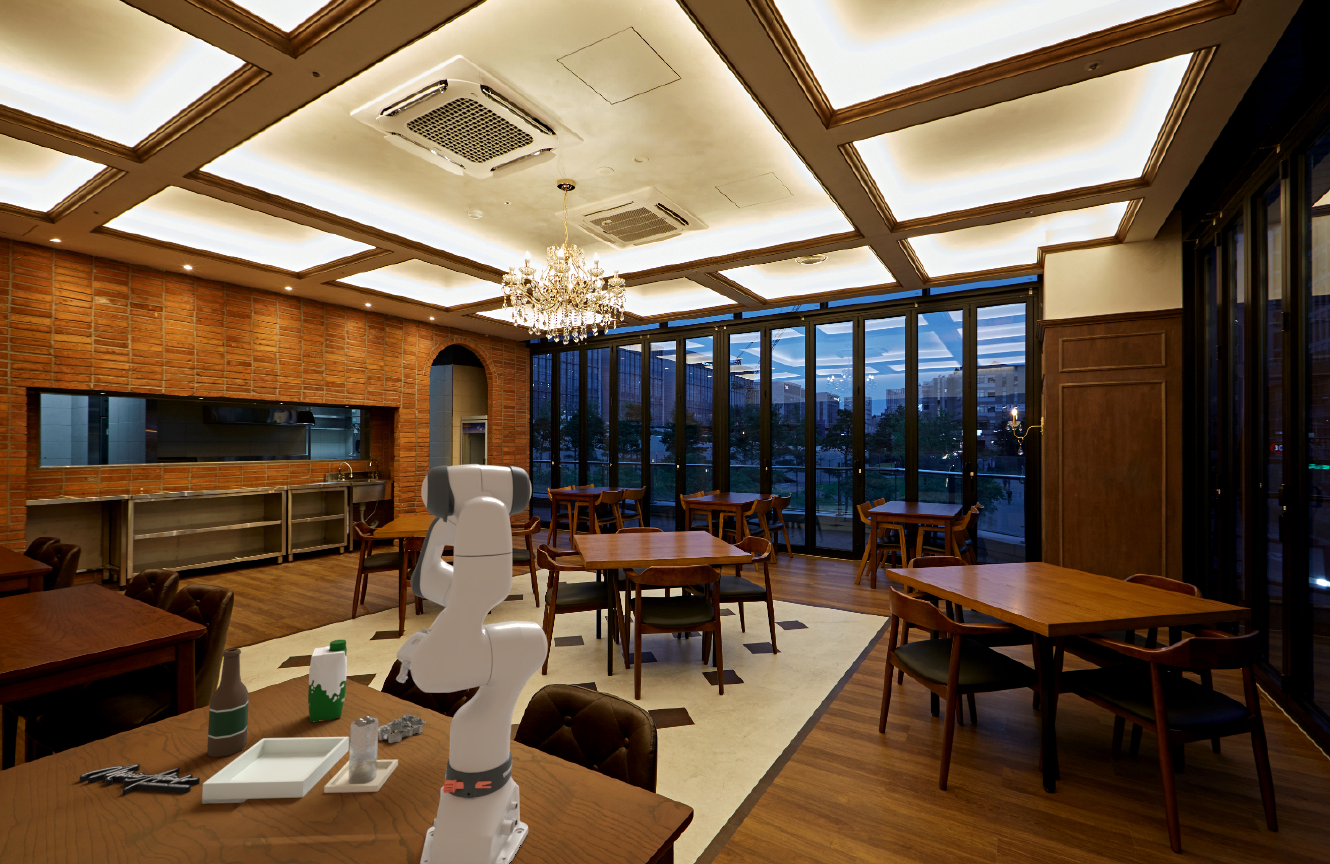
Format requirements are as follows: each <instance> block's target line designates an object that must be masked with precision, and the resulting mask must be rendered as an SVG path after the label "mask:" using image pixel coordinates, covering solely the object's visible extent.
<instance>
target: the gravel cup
mask: <svg viewBox="0 0 1330 864" xmlns="http://www.w3.org/2000/svg"><path fill="white" fill-rule="evenodd" d="M349 728H350V729H349V730H350V731H349V759H348V761H349V783H350V784H365V783H368V782H370V781H372V780H374V779H375V778H376V775H377V760H378V748H379V747H378V744H379V743H378V742H379V733H378V728H379V718H377V717H376V716H375V717H374V716H370V715H365V716H363V717H358V718H357V719H355V720H353V721H352V722H351V723H350V727H349Z"/></svg>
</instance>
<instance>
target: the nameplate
mask: <svg viewBox="0 0 1330 864" xmlns="http://www.w3.org/2000/svg"><path fill="white" fill-rule="evenodd" d="M140 768H141V764H140V763H136V764H130V765H126V766H124V765H117V766H109V767H104V768H100V769H96V770H93V771H88V772H86V773H85V772H84V773H82V774H80V775H79V783H85V782H87V784H88V785H90V784H95V783H97V782H101V781H103V782H104V785H105V786H107V787H108V786H113V783H121V784H122V787H124V788H123V789H122V793H121V794H122V796H123V797H124V796H127V795H128V794H131V793H133V792H136V791H142V792H143V791H144V792H157V793H171V794H188V793H190V792H191V791H192V790H191V789H192V786H196V785H200V783H201V781H200V779H201V777H193V776H194V775H193V773H191V774H187V775H185V776H182V777H181V776H179V774H181V773H180V771H181V768H180V767H175V768H172V769H169V770H166V771H161V772H157V773H155V774H154V773H153V774H147V773H145V772H144V771H143V772H139V771H140ZM138 772H139V773H138Z"/></svg>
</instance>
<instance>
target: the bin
mask: <svg viewBox="0 0 1330 864" xmlns="http://www.w3.org/2000/svg"><path fill="white" fill-rule="evenodd" d="M349 750H350V736H323V737H322V736H321V737H320V736H318V737H316V736H315V737H311V736H310V737H267V738H266V737H265V738H261V739H260V740H259V741H258V742H256V743H255V744H253V745H252V746H251V747H249V749H247V750H245V752H243V753H241V754H240V755H239V756H237V757H236V758H235V759H234V760H232V761H231V762H229V763H228V764H227V765H225V766H224V767H223V768H222V769H220V770H219V771H217V772H216V773H215V774H214V775H212V776H211V777H210V778H208V779H207V780H205V782H203V783H202V792H201V793H202V797H201V805H202V804H203V805H204V804H208V805H209V804H235V803H236V804H239V803H240V804H243V803H245V802H246V801H247V800H248V799H249V800H251V799H253V800H254V799H285V798H286V799H287V798H288V799H290V798H295V799H296V798H304V797H305V796H306V795H307V794H308V793H309V792H310V791H311V790H312V789H313V788H314V786H315V785H317V783H318V782H319V781H320V780H321V779H322V778H323V777H324V776H325V775H327V773H328V772H330V770H331V769H332V768H333V767H334V766H335V765H336V764H337V763H338V762H339V761H340V760H341V759H342V757H344V756H345V755H346V754H347V753H348V752H349Z"/></svg>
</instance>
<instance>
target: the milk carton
mask: <svg viewBox="0 0 1330 864" xmlns="http://www.w3.org/2000/svg"><path fill="white" fill-rule="evenodd" d="M347 647H348V646H347V640H346V639H335V640H332V641H330V642H329V646H328V645H327V646H324V647H315V648H314V649H313V652H312V654H311V658H310V663H309V665H310V666H309V672H308V690H307V691H308V695H307V705H308V714H309V722H313V721H319V720H327V721H331V720H330V719H334V720H336V719H335V718H340V719H341V715H342V712H343V707H344V704H345V699H346V691H347V669H348V667H347V666H348V665H347V664H348V662H347V660H348V659H347V656H348V655H347V650H348V649H347Z"/></svg>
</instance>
